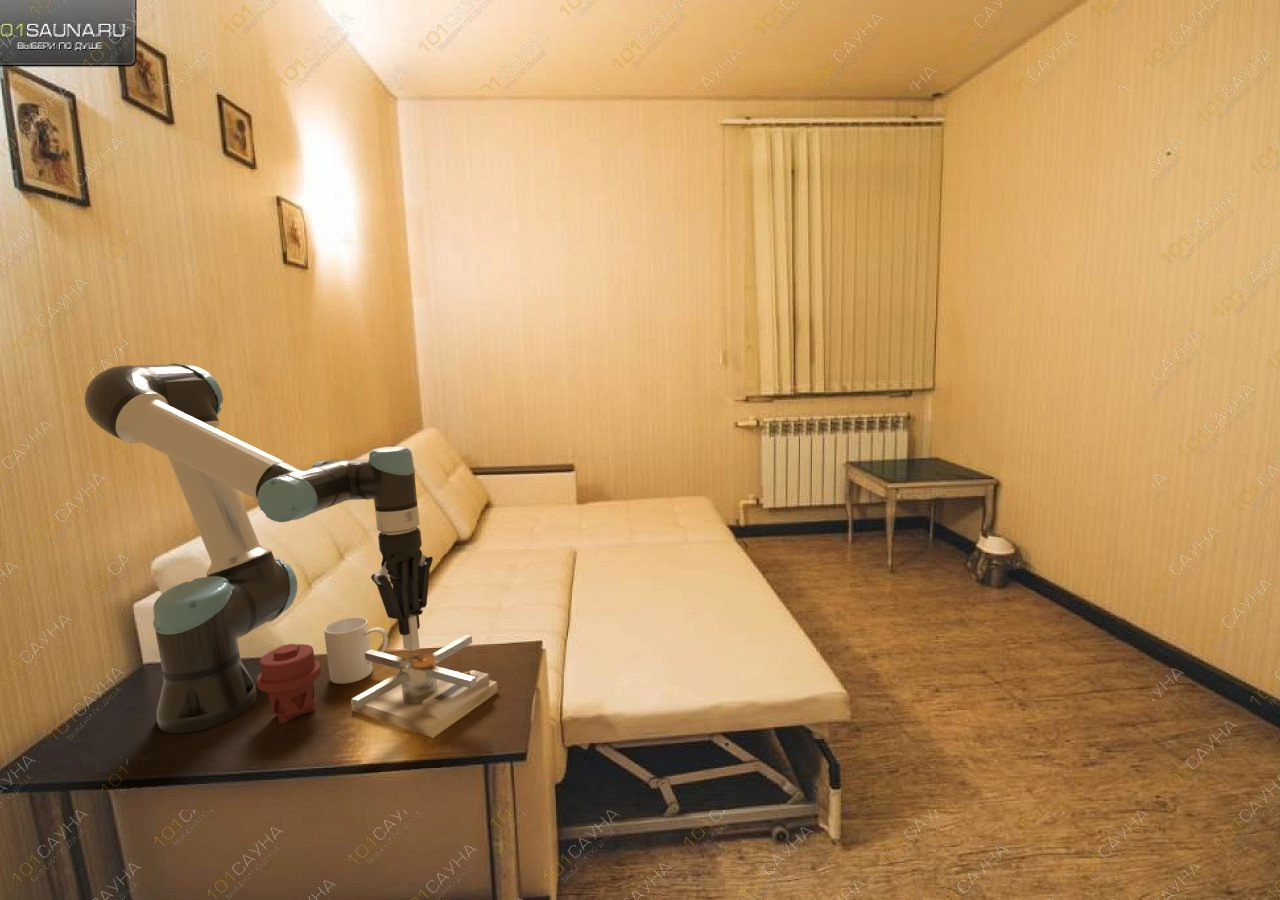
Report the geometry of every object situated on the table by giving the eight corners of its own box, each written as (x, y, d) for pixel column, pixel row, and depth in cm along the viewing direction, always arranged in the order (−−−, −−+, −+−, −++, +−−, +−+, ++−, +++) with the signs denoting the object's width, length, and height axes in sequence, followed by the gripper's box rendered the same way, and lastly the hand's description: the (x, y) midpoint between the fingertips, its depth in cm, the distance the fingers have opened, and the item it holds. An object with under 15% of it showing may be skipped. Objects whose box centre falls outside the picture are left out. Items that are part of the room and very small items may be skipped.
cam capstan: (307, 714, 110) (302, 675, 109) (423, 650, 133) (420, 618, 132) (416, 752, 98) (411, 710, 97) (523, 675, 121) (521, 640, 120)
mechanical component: (337, 700, 120) (299, 731, 110) (290, 697, 122) (248, 727, 112) (330, 637, 118) (290, 663, 108) (282, 635, 120) (239, 660, 110)
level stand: (352, 710, 116) (348, 678, 115) (420, 671, 130) (417, 642, 129) (433, 737, 106) (429, 703, 106) (497, 691, 120) (495, 660, 119)
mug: (321, 684, 126) (315, 633, 125) (344, 665, 134) (338, 616, 132) (380, 685, 125) (375, 633, 123) (400, 665, 133) (395, 617, 131)
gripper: (384, 540, 114) (398, 666, 117) (439, 522, 125) (450, 637, 129) (356, 536, 118) (370, 659, 121) (411, 519, 129) (423, 631, 132)
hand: (411, 647), depth 125 cm, fingers closed
